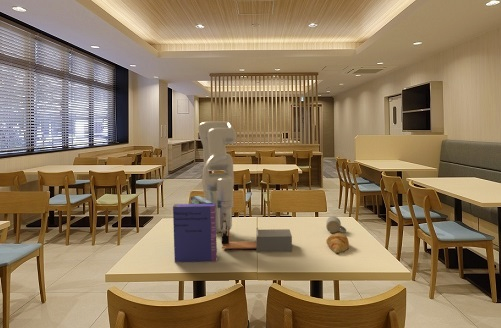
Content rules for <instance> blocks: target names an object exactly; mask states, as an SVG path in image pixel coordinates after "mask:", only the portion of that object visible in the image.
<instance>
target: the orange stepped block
mask: <svg viewBox="0 0 501 328" xmlns="http://www.w3.org/2000/svg"><path fill="white" fill-rule="evenodd" d="M230 230H231V229H228V235H229V244H222V243H221V245H222V246H221V249H257V240H255V241H231V235H230V233H231V231H230ZM226 231H227V230H226Z"/></svg>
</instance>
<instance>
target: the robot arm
mask: <svg viewBox="0 0 501 328" xmlns="http://www.w3.org/2000/svg"><path fill="white" fill-rule="evenodd" d="M197 129H198V136H199V139H200V141H201V142H200V143H201V144H202V148H203V149H202V152H203V168H202V179H201V185H202V189H203V198H204V199H206V200H208V201H210V202H213V204H216V234H217V233H221V245H222V244H229V235H228V229H230V230H231V229H232V227H233V219H232V217H233V216H232V213H233V211H232V208H234V185H235V177H234V175H235V174H234V161H233V156H232V155H231V154H229V153H227V148H226V145H234V144H235V142H236V139H237V136H236V134H237V133H236V131H235V129H234V127H233V125H232V124H231V123H230V122H229V121H225V120H224V121H219V120H218V121H212V120H210V121H203V122H201V123H199V125H198V128H197ZM220 171H221V173H220ZM210 172H216V173H210ZM218 172H219V173H218ZM226 230H227V231H226Z"/></svg>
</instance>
